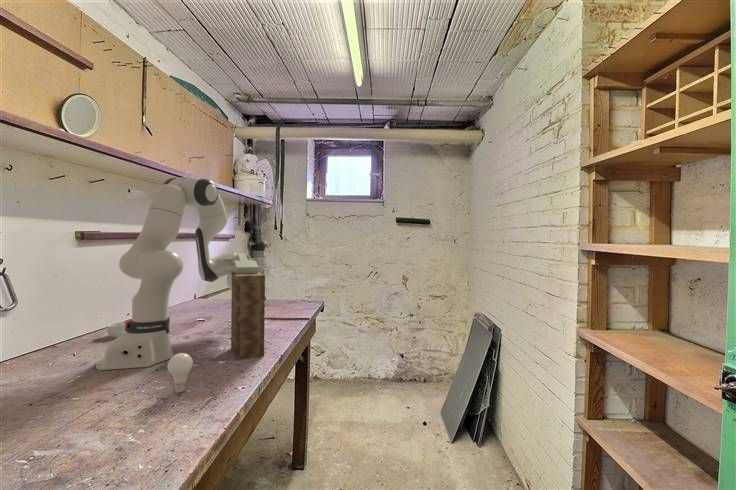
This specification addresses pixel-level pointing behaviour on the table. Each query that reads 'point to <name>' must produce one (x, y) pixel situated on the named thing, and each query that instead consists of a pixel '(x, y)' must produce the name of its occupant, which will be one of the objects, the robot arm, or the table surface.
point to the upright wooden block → (247, 315)
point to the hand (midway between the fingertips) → (242, 256)
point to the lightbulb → (180, 370)
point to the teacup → (116, 329)
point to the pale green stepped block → (245, 265)
